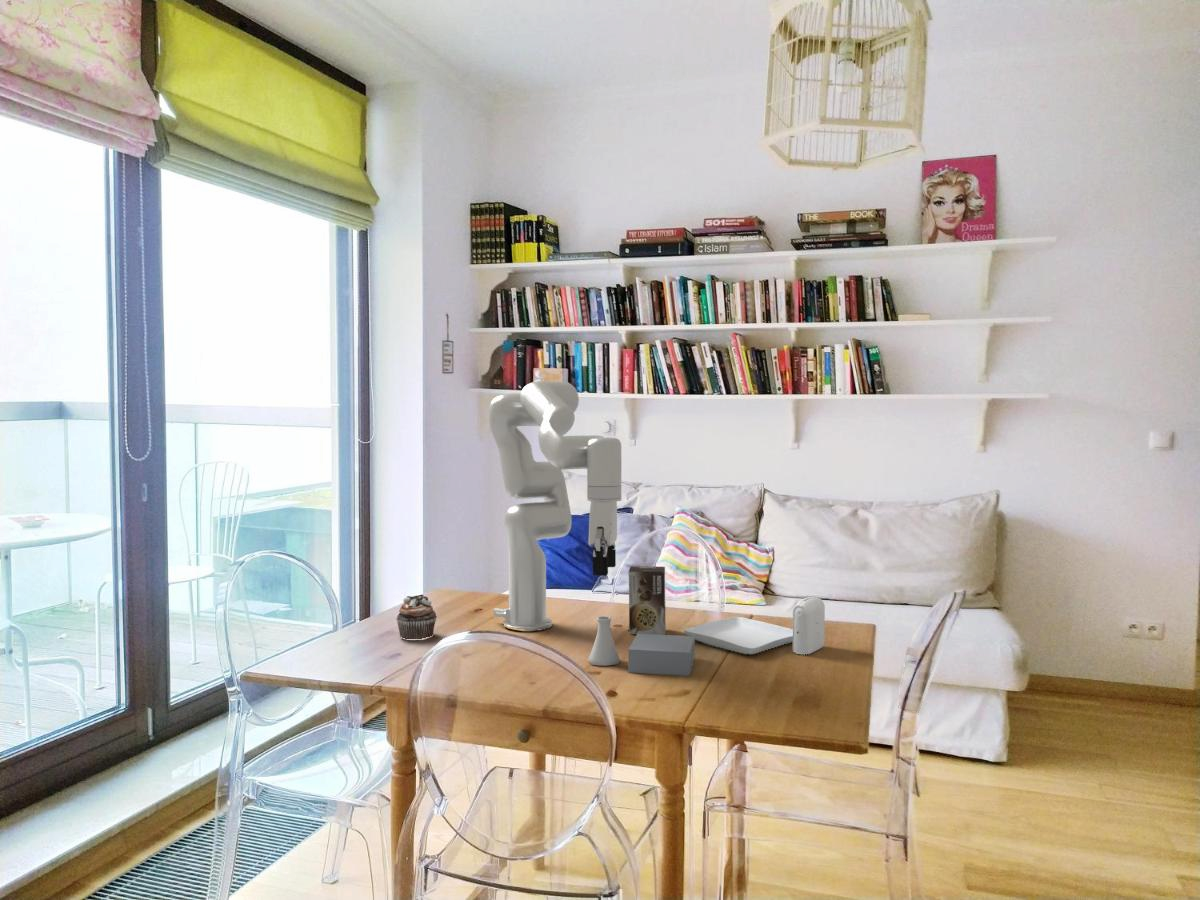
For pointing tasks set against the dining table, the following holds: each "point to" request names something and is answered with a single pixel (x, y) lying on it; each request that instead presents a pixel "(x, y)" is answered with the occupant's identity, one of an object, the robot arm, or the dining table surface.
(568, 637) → the dining table surface
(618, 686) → the dining table surface
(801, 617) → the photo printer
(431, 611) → the cupcake
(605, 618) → the flask
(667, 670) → the slate block
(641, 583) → the coffee box
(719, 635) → the salad plate
